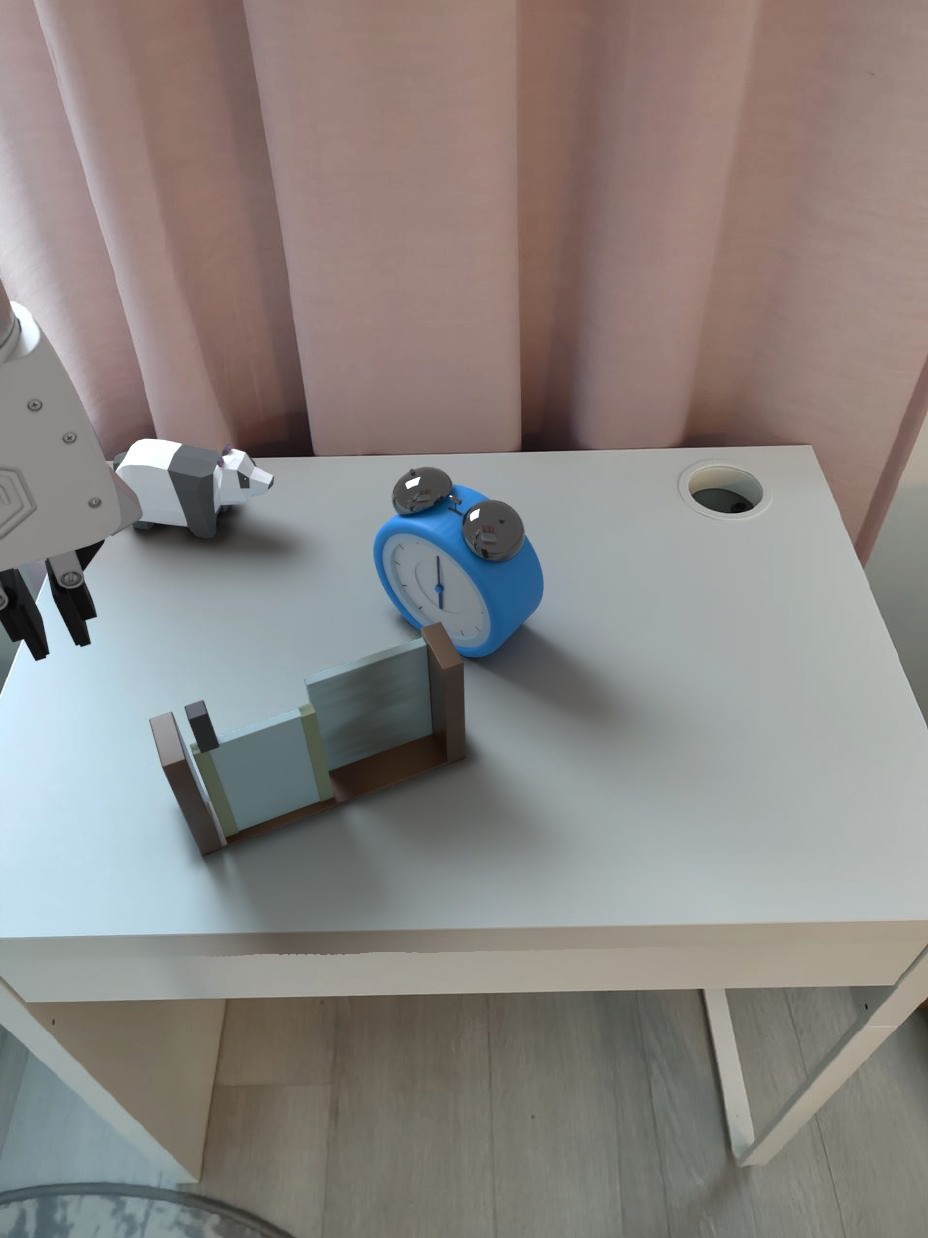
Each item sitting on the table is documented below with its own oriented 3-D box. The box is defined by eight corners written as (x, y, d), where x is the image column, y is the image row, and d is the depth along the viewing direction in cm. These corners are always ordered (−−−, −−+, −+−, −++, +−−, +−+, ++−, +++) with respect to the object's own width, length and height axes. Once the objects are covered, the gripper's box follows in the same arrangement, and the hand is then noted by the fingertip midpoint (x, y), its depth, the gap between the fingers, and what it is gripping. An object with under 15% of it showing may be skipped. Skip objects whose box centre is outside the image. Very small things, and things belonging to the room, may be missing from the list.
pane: (225, 839, 69) (179, 723, 59) (221, 825, 70) (175, 708, 60) (334, 799, 71) (309, 679, 61) (329, 786, 72) (303, 665, 62)
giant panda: (122, 538, 92) (92, 457, 84) (145, 498, 95) (118, 417, 88) (275, 557, 90) (257, 476, 83) (293, 516, 93) (277, 434, 86)
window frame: (205, 865, 70) (161, 767, 60) (192, 819, 72) (148, 718, 63) (466, 766, 75) (464, 662, 65) (445, 726, 77) (440, 620, 68)
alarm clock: (377, 612, 85) (361, 478, 74) (423, 571, 88) (415, 436, 77) (498, 687, 80) (501, 555, 68) (543, 640, 83) (553, 506, 72)
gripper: (-340, 427, 33) (-97, 740, 47) (131, 317, 37) (227, 637, 51) (-322, 313, 38) (-105, 630, 51) (96, 227, 42) (192, 542, 55)
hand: (59, 632), depth 51 cm, fingers closed
